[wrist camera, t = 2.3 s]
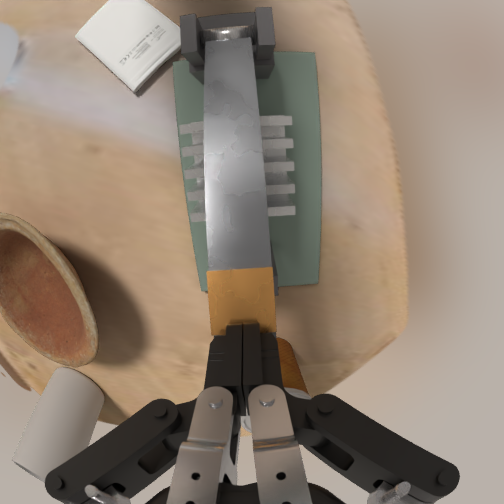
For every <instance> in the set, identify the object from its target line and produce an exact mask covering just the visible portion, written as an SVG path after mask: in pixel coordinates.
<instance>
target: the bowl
mask: <svg viewBox="0 0 504 504" xmlns="http://www.w3.org/2000/svg"><path fill="white" fill-rule="evenodd" d="M0 312H1V314H2V317H3V318H4V320H5V321H6V322H7V323H8V325H9V326H10V327H11V328H12V329H13V330H14V331H15V332H16V333H17V334H18V335H19V336H20V337H21V338H22V339H23V340H24V341H25V342H26V343H27V344H28V345H30V346H31V347H32V348H33V349H35V350H36V351H37V352H39V353H40V354H42V355H43V356H45V357H47V358H49V359H50V360H53V361H55V362H57V363H60V364H63V365H67V366H72V367H79V366H83V365H87V364H88V363H90V362H91V361H92V360H93V359H94V358H95V357H96V355H97V352H98V347H99V332H98V327H97V322H96V319H95V316H94V313H93V310H92V308H91V305H90V303H89V301H88V299H87V296H86V294H85V291H84V288H83V285H82V283H81V281H80V279H79V277H78V275H77V273H76V271H75V269H74V267H73V266H72V264H71V263H70V262H69V260H68V259H67V258H66V257H65V256H64V254H63V253H62V252H61V251H60V249H59V248H58V247H57V246H56V245H54V244H53V243H52V242H51V241H50V240H49V239H48V238H46V237H45V236H44V235H43V234H41V233H40V232H39V231H38V230H37V229H36V228H35V227H33V226H32V225H30V224H29V223H28V222H26V221H24V220H22V219H21V218H19V217H17V216H14V215H11V214H7V213H0Z"/></svg>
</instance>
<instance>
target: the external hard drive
mask: <svg viewBox="0 0 504 504" xmlns="http://www.w3.org/2000/svg"><path fill="white" fill-rule="evenodd" d="M75 38H77V39H78V40H79V41H80V42H81V43H82V44H83V45H84V46H85V47H86V48H87V49H89V50H90V51H91V52H92V53H93V54H94V55H95V56H96V57H97V58H98V59H99V60H101V61H102V62H103V63H104V64H105V65H106V66H107V67H108V68H109V69H110V70H111V71H112V72H113V73H114V74H115V75H116V76H118V77H119V78H120V79H121V80H122V81H123V82H124V83H125V84H126V85H127V86H128V87H129V88H130V89H131V90H132V91H133V92H137V91H138V90H139V89H140V88H141V86H142V85H143V84H144V83H145V82H146V81H147V80H148V79H149V78H150V77H151V76H152V75H153V74H154V73H155V72H156V71H157V70H158V68H159V67H160V66H161V65H162V64H164V63H165V62H166V61H167V60H169V59H170V58H171V57H172V56H173V55H175V54H176V53H177V52H178V51H179V50H180V49H181V38H180V27H179V26H177V25H176V24H175V23H174V22H172V21H171V20H170V19H169V18H167V17H166V16H165V15H164V14H162V13H161V12H160V11H158V10H157V9H156V8H154V7H153V6H152V5H150V4H149V3H147V2H146V1H145V0H109V1H108V2H107V3H106V4H104V5H103V6H102V7H101V8H100V9H99V10H98V11H97V12H96V13H95V14H94V15H93V16H92V17H91V19H90V20H89V21H88V22H87V23H86V24H85V25H84V26H83V27H82V28H81V29H80V31H79V32H78V33H77V34H76V36H75Z"/></svg>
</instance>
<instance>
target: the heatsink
mask: <svg viewBox="0 0 504 504" xmlns="http://www.w3.org/2000/svg"><path fill="white" fill-rule="evenodd" d="M259 117H260V128H261V138H262V149H263V161H264V172H265V184H266V196H267V209H268V216H283V215H295V205H294V203H293V201H292V200H291V198H290V196H289V195H288V194H289V193H295V184H294V183H293V181H292V180H291V179H290V178H289V176H288V175H287V171H294V161H293V160H291V159H290V158H289V157H287V156H286V148H293V139H292V138H288V137H285V127H284V126H287V125H292V116H284V115H272V116H259ZM179 128H180V134H189V133H192V142H193V144H192V145H188V146H185V147H182V156H183V157H186V156H194V161H195V163H194V164H192V165H191V166H189V167H188V168H187V169H185V170H184V173H185V179H193V178H197V182H196V183H195V184H194V185H193V186H192V187H191V188H190V189H189V191H188V192H187V196H188V201H195V200H198V202H197V203H196V205H195V207H194V208H193V210H192V211H191V213H190V217H191V222H201V221H206V210H205V180H204V121H200V122H193V123H191V124H184V125H179Z"/></svg>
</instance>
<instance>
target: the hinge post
mask: <svg viewBox="0 0 504 504" xmlns="http://www.w3.org/2000/svg"><path fill="white" fill-rule="evenodd" d="M249 25H254V26H255V36H256V45H252V50H253V59H254V69H255V78H256V79H269V77H270V74H271V72H272V70H273V68H274V66H275V62H274V51H273V50H274V47H275V35H274V25H273V15H272V7H257V8H256V9H255V12H249V13H234V14H223V15H214V16H206V17H200V18H197V16H196V14H189V15H184V16H180V38H181V54H182V55H183V56H184V57H185V58H186V59H187V60H188V61H189V73H190V74H192V75H193V76H194V77H195V78H196V79H197V80H198V81H199V82H200V83H201V84H204V70H205V50H203V49H202V45H201V36H200V33H201V30H207V29H214V28H223V27H234V26H249Z"/></svg>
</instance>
